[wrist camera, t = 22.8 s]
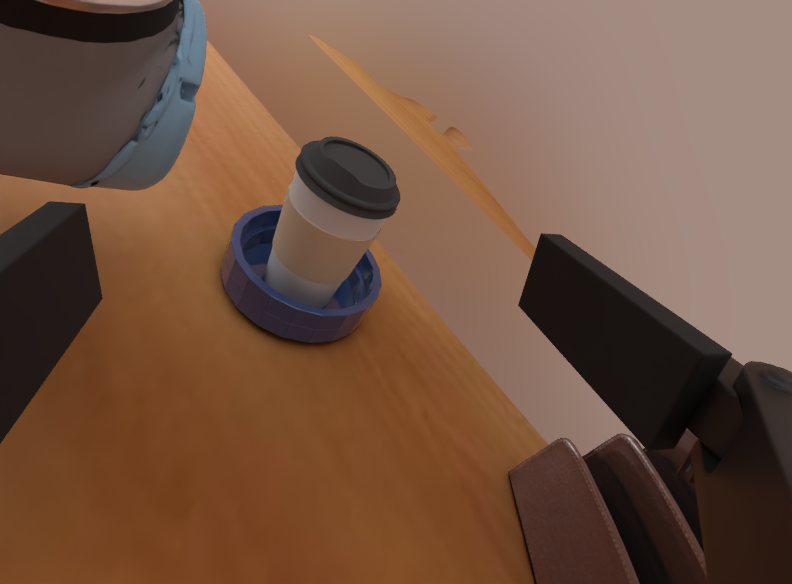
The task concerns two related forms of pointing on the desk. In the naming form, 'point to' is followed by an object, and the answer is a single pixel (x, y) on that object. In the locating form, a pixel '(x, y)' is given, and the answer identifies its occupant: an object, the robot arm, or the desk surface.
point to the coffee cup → (329, 218)
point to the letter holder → (610, 514)
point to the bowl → (277, 310)
